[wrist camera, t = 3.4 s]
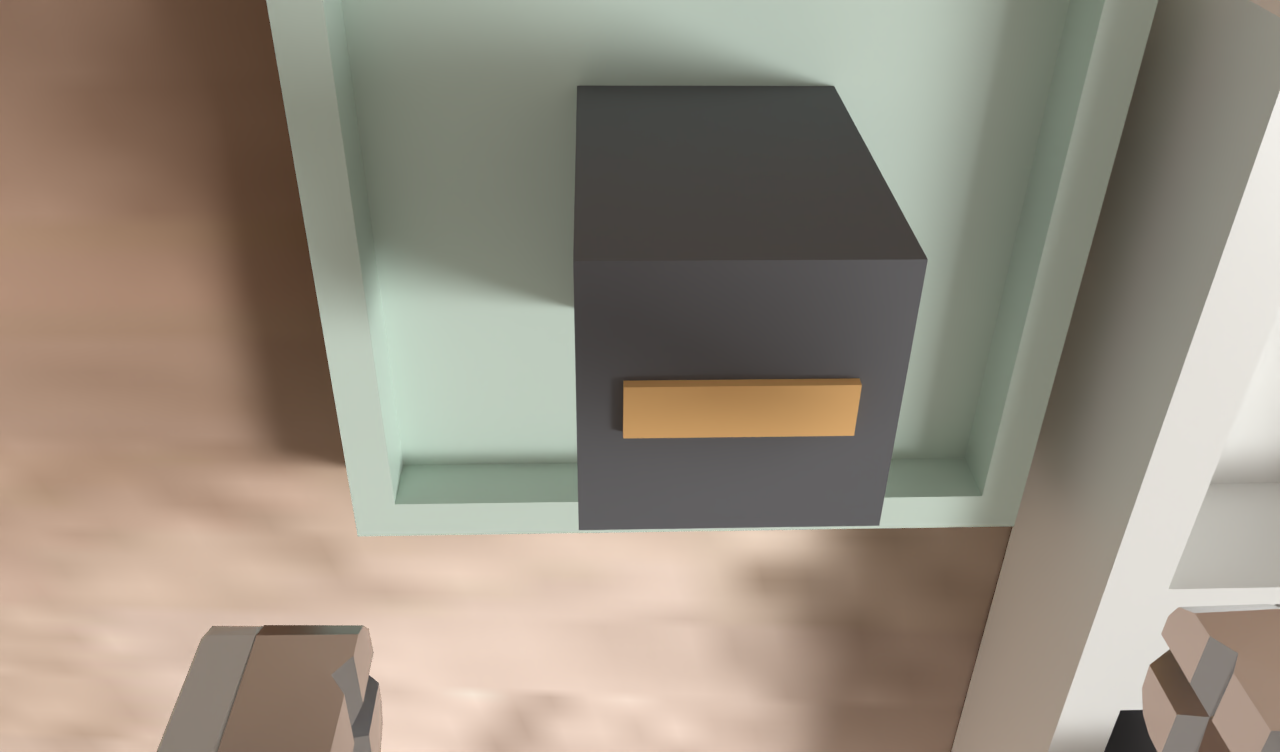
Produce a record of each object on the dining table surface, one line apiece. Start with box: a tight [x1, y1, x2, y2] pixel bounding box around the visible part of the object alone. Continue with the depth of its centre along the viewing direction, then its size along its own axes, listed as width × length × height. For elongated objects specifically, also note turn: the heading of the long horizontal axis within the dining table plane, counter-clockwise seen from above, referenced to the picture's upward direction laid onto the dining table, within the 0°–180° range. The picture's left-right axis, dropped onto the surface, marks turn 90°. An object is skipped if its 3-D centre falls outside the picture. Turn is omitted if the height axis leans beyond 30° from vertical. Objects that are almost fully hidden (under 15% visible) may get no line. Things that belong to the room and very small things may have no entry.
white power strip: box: [951, 0, 1280, 752], centre depth 24 cm, size 29×9×5 cm, turn 179°
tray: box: [266, 0, 1158, 536], centre depth 19 cm, size 13×13×2 cm
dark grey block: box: [573, 86, 928, 530], centre depth 17 cm, size 4×4×6 cm
